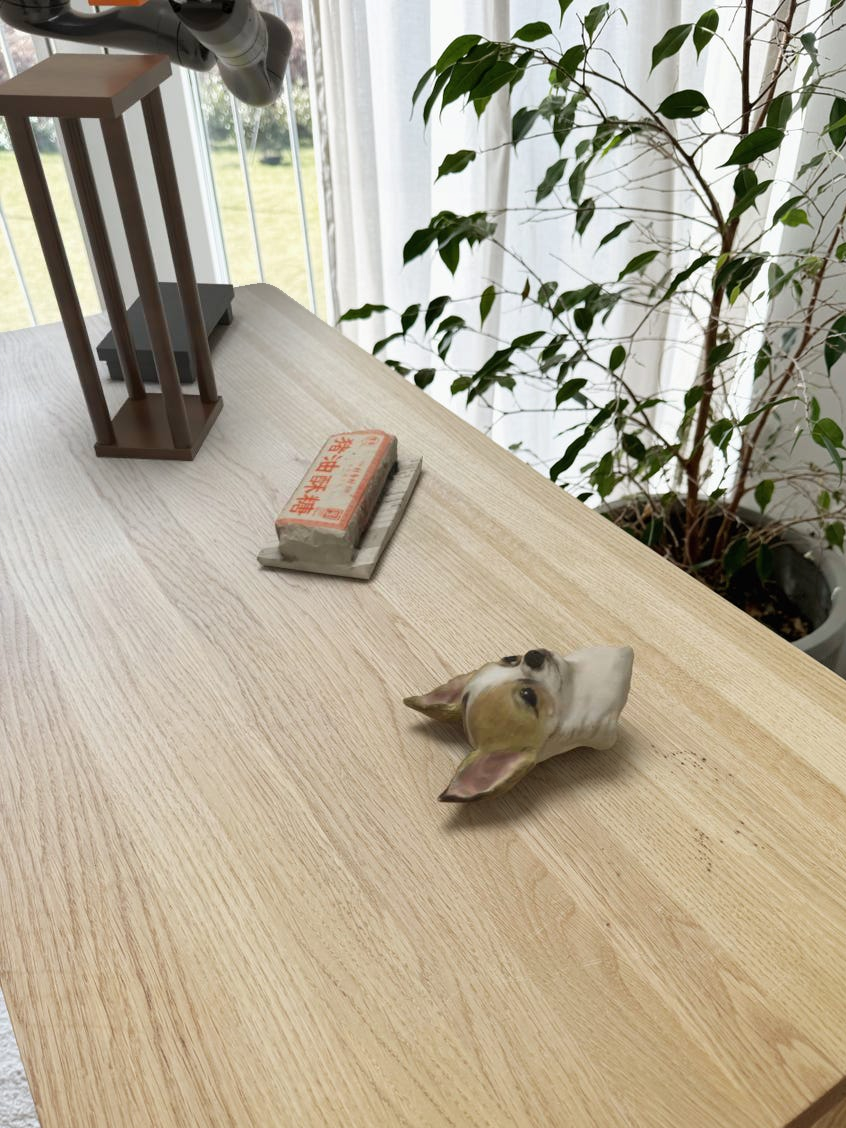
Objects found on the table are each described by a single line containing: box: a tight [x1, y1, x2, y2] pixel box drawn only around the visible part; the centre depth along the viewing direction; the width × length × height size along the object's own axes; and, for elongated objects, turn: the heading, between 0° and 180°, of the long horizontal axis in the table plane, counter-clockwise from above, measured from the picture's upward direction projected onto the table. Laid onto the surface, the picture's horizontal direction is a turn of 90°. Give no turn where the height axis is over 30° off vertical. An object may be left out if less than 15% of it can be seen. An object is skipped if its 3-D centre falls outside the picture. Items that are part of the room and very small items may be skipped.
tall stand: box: [0, 52, 224, 461], centre depth 91 cm, size 14×10×32 cm
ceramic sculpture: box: [402, 644, 635, 804], centre depth 66 cm, size 11×9×15 cm
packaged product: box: [256, 428, 424, 580], centre depth 88 cm, size 18×5×10 cm
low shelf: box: [95, 281, 236, 384], centre depth 114 cm, size 18×10×4 cm, turn 175°
